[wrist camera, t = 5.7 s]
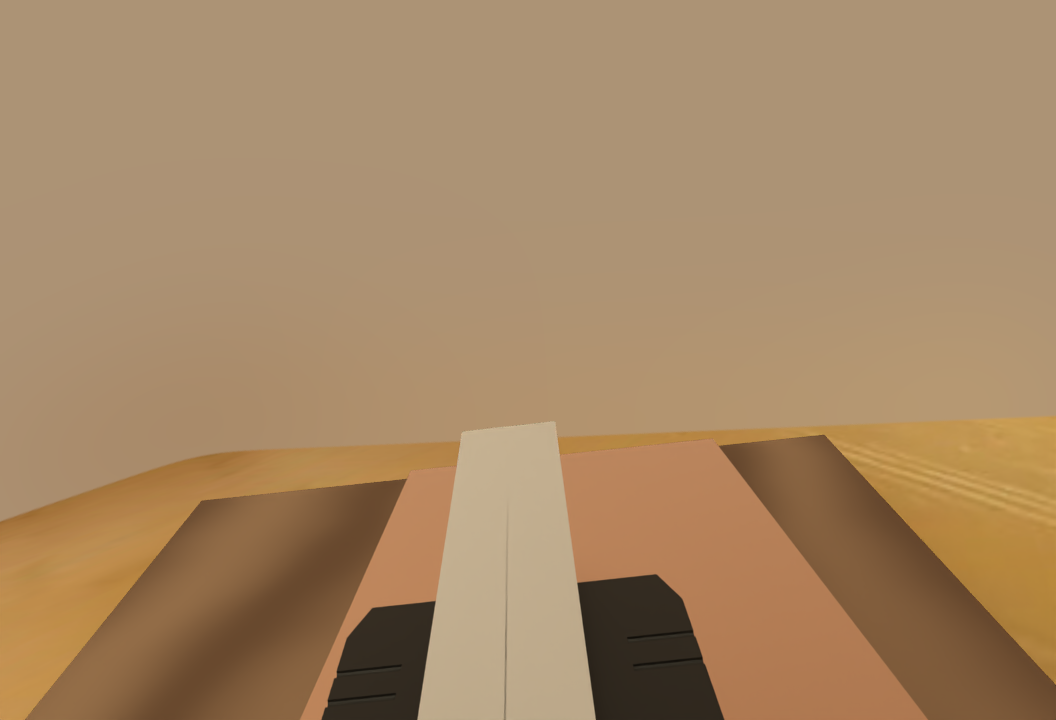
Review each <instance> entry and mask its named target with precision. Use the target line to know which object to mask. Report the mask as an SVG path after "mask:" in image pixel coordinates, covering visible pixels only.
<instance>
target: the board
mask: <svg viewBox="0 0 1056 720" xmlns="http://www.w3.org/2000/svg"><path fill="white" fill-rule="evenodd" d="M719 447H720V449H721V450H722V451H723V453H724V454H725V455H726V457H727V458H728V459H729V461H730V462H731V463H732V464H733V466H734V467H735V468H736V470H737V471H738V472H739V474H740V475H741V476H742V477H743V479H744V480H745V481H746V483H747V484H748V485H749V487H750V488H751V489H752V491H753V492H754V493H755V494H756V496H757V497H758V498H759V500H760V501H761V502H762V504H763V505H764V506H765V507H766V509H767V510H768V511H769V513H770V514H771V515H772V517H773V518H774V519H775V521H776V522H777V523H778V524H779V526H780V527H781V528H782V530H783V531H784V532H785V534H786V535H787V536H788V538H789V539H790V540H791V541H792V543H793V544H794V545H795V547H796V548H797V549H798V551H799V552H800V553H801V554H802V556H803V557H804V558H805V560H806V561H807V562H808V564H809V565H810V566H811V568H812V569H813V570H814V571H815V573H816V574H817V575H818V577H819V578H820V579H821V581H822V582H823V583H824V584H825V586H826V587H827V588H828V590H829V591H830V592H831V594H832V595H833V596H834V598H835V599H836V600H837V601H838V603H839V604H840V605H841V607H842V608H843V609H844V611H845V612H846V613H847V615H848V616H849V617H850V618H851V620H852V621H853V622H854V624H855V625H856V626H857V628H858V629H859V630H860V631H861V633H862V634H863V635H864V637H865V638H866V639H867V641H868V642H869V643H870V645H871V646H872V647H873V648H874V650H875V651H876V652H877V654H878V655H879V656H880V658H881V659H882V660H883V661H884V663H885V664H886V665H887V667H888V668H889V669H890V671H891V672H892V673H893V675H894V676H895V677H896V678H897V680H898V681H899V682H900V684H901V685H902V686H903V688H904V689H905V690H906V692H907V693H908V694H909V695H910V697H911V698H912V699H913V701H914V702H915V703H916V705H917V706H918V707H919V708H920V710H921V711H922V712H923V714H924V715H925V716H926V718H927V719H928V720H1056V685H1055V684H1054V683H1053V682H1052V681H1051V679H1050V678H1049V677H1048V676H1047V675H1046V674H1045V673H1044V672H1043V671H1042V670H1041V669H1040V668H1039V666H1038V665H1037V664H1036V663H1035V662H1034V661H1033V660H1032V659H1031V658H1030V657H1029V656H1028V655H1027V654H1026V652H1025V651H1024V650H1023V649H1022V648H1021V647H1020V646H1019V645H1018V644H1017V643H1016V642H1015V641H1014V639H1013V638H1012V637H1011V636H1010V635H1009V634H1008V633H1007V632H1006V631H1005V630H1004V629H1003V628H1002V626H1001V625H1000V624H999V623H998V622H997V621H996V620H995V619H994V618H993V617H992V616H991V615H990V613H989V612H988V611H987V610H986V609H985V608H984V607H983V606H982V605H981V604H980V603H979V602H978V601H977V599H976V598H975V597H974V596H973V595H972V594H971V593H970V592H969V591H968V590H967V589H966V588H965V586H964V585H963V584H962V583H961V582H960V581H959V580H958V579H957V578H956V577H955V576H954V575H953V573H952V572H951V571H950V570H949V569H948V568H947V567H946V566H945V565H944V564H943V563H942V562H941V560H940V559H939V558H938V557H937V556H936V555H935V554H934V553H933V552H932V551H931V550H930V549H929V548H928V546H927V545H926V544H925V543H924V542H923V541H922V540H921V539H920V538H919V537H918V536H917V535H916V533H915V532H914V531H913V530H912V529H911V528H910V527H909V526H908V525H907V524H906V523H905V522H904V520H903V519H902V518H901V517H900V516H899V515H898V514H897V513H896V512H895V511H894V510H893V509H892V508H891V506H890V505H889V504H888V503H887V502H886V501H885V500H884V499H883V498H882V497H881V496H880V495H879V493H878V492H877V491H876V490H875V489H874V488H873V487H872V486H871V485H870V484H869V483H868V482H867V480H866V479H865V478H864V477H863V476H862V475H861V474H860V473H859V472H858V471H857V470H856V469H855V467H854V466H853V465H852V464H851V463H850V462H849V461H848V460H847V459H846V458H845V457H844V456H843V455H842V453H841V452H840V451H839V450H838V449H837V448H836V447H835V446H834V445H833V444H832V443H831V442H830V440H829V439H828V438H827V437H826V436H825V435H818V436H808V437H799V438H789V439H780V440H770V441H761V442H751V443H742V444H733V445H723V446H719ZM406 480H407V479H402V480H393V481H384V482H374V483H365V484H355V485H346V486H336V487H327V488H317V489H308V490H299V491H289V492H280V493H270V494H261V495H251V496H242V497H233V498H223V499H214V500H204V501H201V502H200V504H199V505H198V506H197V507H196V508H195V510H194V511H193V512H192V513H191V515H190V516H189V517H188V518H187V520H186V521H185V522H184V523H183V525H182V526H181V527H180V528H179V530H178V531H177V532H176V533H175V534H174V536H173V537H172V538H171V539H170V541H169V542H168V543H167V544H166V546H165V547H164V548H163V549H162V551H161V552H160V553H159V554H158V556H157V557H156V558H155V559H154V560H153V562H152V563H151V564H150V565H149V567H148V568H147V569H146V570H145V572H144V573H143V574H142V575H141V577H140V578H139V579H138V580H137V582H136V583H135V584H134V585H133V587H132V588H131V589H130V590H129V591H128V593H127V594H126V595H125V596H124V598H123V599H122V600H121V601H120V603H119V604H118V605H117V606H116V608H115V609H114V610H113V611H112V613H111V614H110V615H109V616H108V617H107V619H106V620H105V621H104V622H103V624H102V625H101V626H100V627H99V629H98V630H97V631H96V632H95V634H94V635H93V636H92V637H91V639H90V640H89V641H88V642H87V643H86V645H85V646H84V647H83V648H82V650H81V651H80V652H79V653H78V655H77V656H76V657H75V658H74V660H73V661H72V662H71V663H70V665H69V666H68V667H67V668H66V670H65V671H64V672H63V673H62V674H61V676H60V677H59V678H58V679H57V681H56V682H55V683H54V684H53V686H52V687H51V688H50V689H49V691H48V692H47V693H46V694H45V696H44V697H43V698H42V699H41V700H40V702H39V703H38V704H37V705H36V707H35V708H34V709H33V710H32V712H31V713H30V714H29V715H28V717H27V718H26V719H25V720H300V718H301V716H302V714H303V712H304V709H305V707H306V705H307V703H308V700H309V698H310V696H311V694H312V691H313V689H314V687H315V685H316V682H317V680H318V678H319V676H320V673H321V671H322V669H323V667H324V664H325V662H326V660H327V658H328V656H329V653H330V651H331V649H332V647H333V644H334V642H335V640H336V638H337V635H338V633H339V631H340V629H341V626H342V624H343V622H344V620H345V617H346V615H347V613H348V611H349V608H350V606H351V604H352V602H353V599H354V597H355V595H356V593H357V590H358V588H359V586H360V584H361V581H362V579H363V577H364V575H365V572H366V570H367V568H368V566H369V563H370V561H371V559H372V557H373V554H374V552H375V550H376V548H377V545H378V543H379V541H380V539H381V536H382V534H383V532H384V530H385V527H386V525H387V523H388V521H389V518H390V516H391V514H392V512H393V509H394V507H395V505H396V503H397V500H398V498H399V496H400V494H401V492H402V489H403V487H404V485H405V483H406Z"/></svg>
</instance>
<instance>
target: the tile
mask: <svg viewBox="0 0 1056 720" xmlns="http://www.w3.org/2000/svg"><path fill="white" fill-rule="evenodd" d="M560 461H561V468H562V476H563V483H564V490H565V498H566V505H567V512H568V520H569V527H570V534H571V542H572V549H573V556H574V564H575V571H576V578H577V583H579V582H588V581H597V580H607V579H616V578H625V577H634V576H643V575H653V574H657V575H658V576H659V577H660V578H661V579H662V580H663V581H664V582H665V583H666V584H668V585H669V586H670V587H671V588H672V589H673V590H674V591H675V592H676V593H677V594H678V595H679V596H680V597H681V598H682V599H683V602H684V604H685V607H686V610H687V613H688V616H689V619H690V622H691V625H692V628H693V632H694V636H696V639H697V642H698V645H699V648H700V651H701V654H702V656H703V662H704V664H705V665H706V668H707V671H708V674H709V677H710V679H711V682H712V685H713V688H714V691H715V694H716V697H717V700H718V703H719V705H720V708H721V711H722V714H723V717H724V720H928V719H927V718H926V716H925V715H924V714H923V712H922V711H921V710H920V708H919V707H918V706H917V705H916V703H915V702H914V701H913V699H912V698H911V697H910V695H909V694H908V693H907V692H906V690H905V689H904V688H903V686H902V685H901V684H900V682H899V681H898V680H897V678H896V677H895V676H894V675H893V673H892V672H891V671H890V669H889V668H888V667H887V665H886V664H885V663H884V661H883V660H882V659H881V658H880V656H879V655H878V654H877V652H876V651H875V650H874V648H873V647H872V646H871V645H870V643H869V642H868V641H867V639H866V638H865V637H864V635H863V634H862V633H861V631H860V630H859V629H858V628H857V626H856V625H855V624H854V622H853V621H852V620H851V618H850V617H849V616H848V615H847V613H846V612H845V611H844V609H843V608H842V607H841V605H840V604H839V603H838V601H837V600H836V599H835V598H834V596H833V595H832V594H831V592H830V591H829V590H828V588H827V587H826V586H825V584H824V583H823V582H822V581H821V579H820V578H819V577H818V575H817V574H816V573H815V571H814V570H813V569H812V568H811V566H810V565H809V564H808V562H807V561H806V560H805V558H804V557H803V556H802V554H801V553H800V552H799V551H798V549H797V548H796V547H795V545H794V544H793V543H792V541H791V540H790V539H789V538H788V536H787V535H786V534H785V532H784V531H783V530H782V528H781V527H780V526H779V524H778V523H777V522H776V521H775V519H774V518H773V517H772V515H771V514H770V513H769V511H768V510H767V509H766V507H765V506H764V505H763V504H762V502H761V501H760V500H759V498H758V497H757V496H756V494H755V493H754V492H753V491H752V489H751V488H750V487H749V485H748V484H747V483H746V481H745V480H744V479H743V477H742V476H741V475H740V474H739V472H738V471H737V470H736V468H735V467H734V466H733V464H732V463H731V462H730V461H729V459H728V458H727V457H726V455H725V454H724V453H723V451H722V450H721V449H720V447H719V446H718V445H717V444H716V442H715V441H714V440H713V439H704V440H695V441H685V442H676V443H666V444H657V445H648V446H638V447H629V448H619V449H610V450H601V451H591V452H582V453H572V454H563V455H560ZM456 468H457V466H450V467H441V468H431V469H422V470H412V471H410V474H409V476H408V478H407V480H406V483H405V485H404V487H403V489H402V492H401V494H400V496H399V498H398V500H397V503H396V505H395V507H394V509H393V512H392V514H391V516H390V518H389V521H388V523H387V525H386V527H385V530H384V532H383V534H382V536H381V539H380V541H379V543H378V545H377V548H376V550H375V552H374V554H373V557H372V559H371V561H370V563H369V566H368V568H367V570H366V572H365V575H364V577H363V579H362V581H361V584H360V586H359V588H358V590H357V593H356V595H355V597H354V599H353V602H352V604H351V606H350V608H349V611H348V613H347V615H346V617H345V620H344V622H343V624H342V626H341V629H340V631H339V633H338V635H337V638H336V640H335V642H334V644H333V647H332V649H331V651H330V653H329V656H328V658H327V660H326V662H325V664H324V667H323V669H322V671H321V673H320V676H319V678H318V680H317V682H316V685H315V687H314V689H313V691H312V694H311V696H310V698H309V700H308V703H307V705H306V707H305V709H304V712H303V714H302V716H301V718H300V720H321V719H322V716H323V713H324V709H325V707H327V706H328V701H327V700H328V697H329V693H330V690H331V687H332V684H333V681H334V678H336V677H337V672H336V671H337V668H338V665H339V661H340V658H341V655H342V652H343V649H344V645H345V642H346V639H347V637H348V636H349V635H350V633H351V632H352V631H353V630H354V629H355V628H356V626H357V625H358V624H359V623H360V622H361V620H362V619H363V618H364V617H365V616H366V615H367V613H368V612H369V611H370V610H371V609H372V608H375V607H384V606H393V605H403V604H412V603H421V602H430V601H436V597H437V590H438V584H439V577H440V571H441V565H442V558H443V552H444V545H445V539H446V532H447V526H448V519H449V513H450V507H451V500H452V494H453V487H454V481H455V474H456Z"/></svg>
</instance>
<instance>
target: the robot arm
mask: <svg viewBox="0 0 1056 720" xmlns="http://www.w3.org/2000/svg"><path fill="white" fill-rule="evenodd" d="M336 672H337V677H336V678H334V681H333V684H332V687H331V690H330V693H329V697H328V700H327V701H328V706H327V707H325V709H324V713H323V716H322V719H321V720H724V717H723V714H722V711H721V708H720V705H719V703H718V700H717V697H716V694H715V691H714V688H713V685H712V682H711V679H710V677H709V674H708V671H707V668H706V665H705V664H704V662H703V656H702V654H701V651H700V648H699V645H698V642H697V639H696V636H694V632H693V628H692V625H691V622H690V619H689V616H688V613H687V610H686V607H685V604H684V602H683V599H682V598H681V597H680V596H679V595H678V594H677V593H676V592H675V591H674V590H673V589H672V588H671V587H670V586H669V585H668V584H666V583H665V582H664V581H663V580H662V579H661V578H660V577H659V576H658V575H657V574H653V575H643V576H634V577H625V578H616V579H607V580H597V581H588V582H579V583H577V578H576V571H575V564H574V556H573V549H572V542H571V534H570V527H569V520H568V512H567V505H566V498H565V490H564V483H563V476H562V468H561V461H560V454H559V446H558V439H557V432H556V425H555V421H552V422H543V423H534V424H525V425H516V426H508V427H499V428H490V429H481V430H472V431H463V432H462V436H461V442H460V449H459V455H458V462H457V468H456V474H455V481H454V487H453V494H452V500H451V507H450V513H449V519H448V526H447V532H446V539H445V545H444V552H443V558H442V565H441V571H440V577H439V584H438V590H437V597H436V601H430V602H421V603H412V604H403V605H393V606H384V607H375V608H372V609H371V610H370V611H369V612H368V613H367V615H366V616H365V617H364V618H363V619H362V620H361V622H360V623H359V624H358V625H357V626H356V628H355V629H354V630H353V631H352V632H351V633H350V635H349V636H348V637H347V639H346V642H345V645H344V649H343V652H342V655H341V658H340V661H339V665H338V668H337V671H336Z"/></svg>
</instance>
